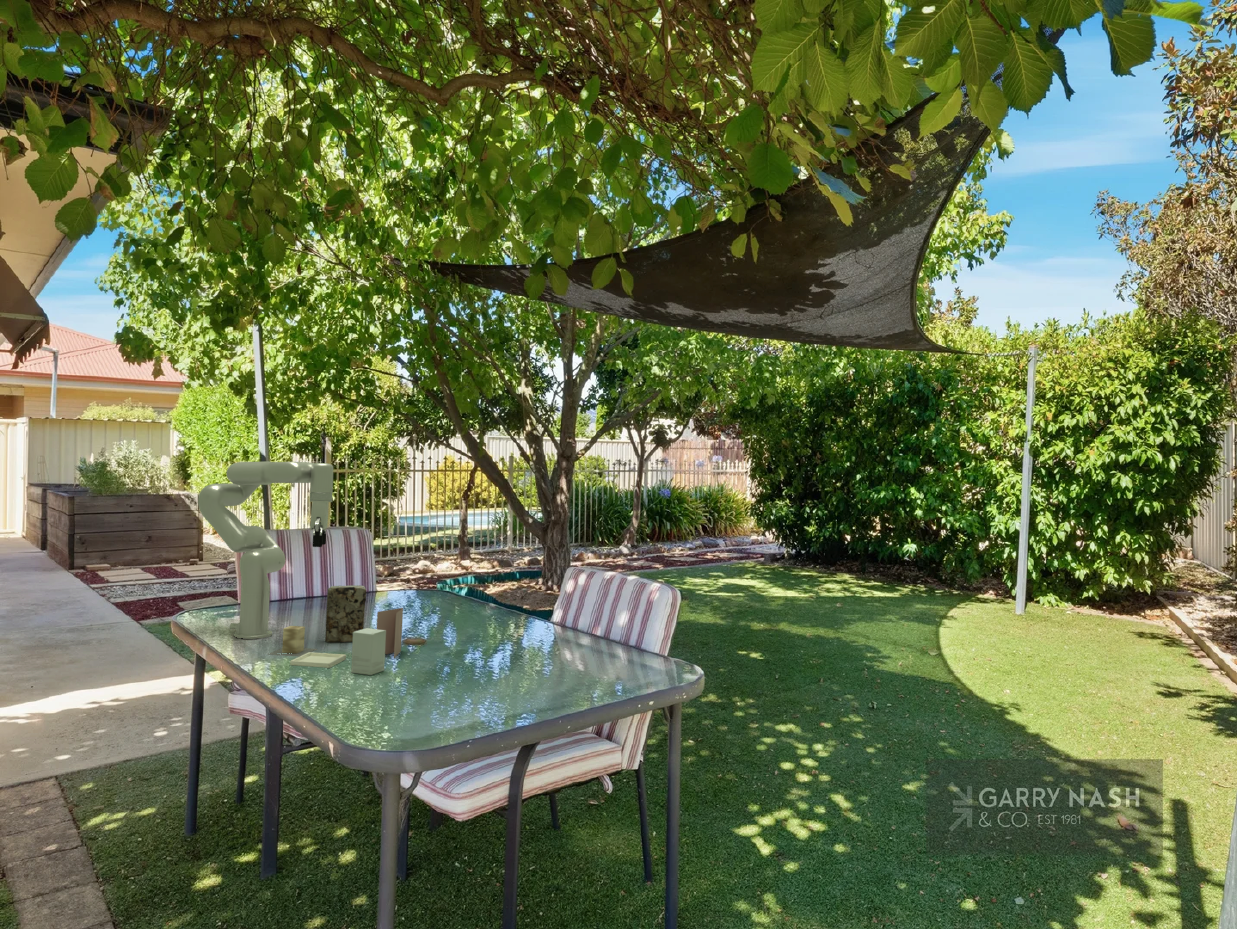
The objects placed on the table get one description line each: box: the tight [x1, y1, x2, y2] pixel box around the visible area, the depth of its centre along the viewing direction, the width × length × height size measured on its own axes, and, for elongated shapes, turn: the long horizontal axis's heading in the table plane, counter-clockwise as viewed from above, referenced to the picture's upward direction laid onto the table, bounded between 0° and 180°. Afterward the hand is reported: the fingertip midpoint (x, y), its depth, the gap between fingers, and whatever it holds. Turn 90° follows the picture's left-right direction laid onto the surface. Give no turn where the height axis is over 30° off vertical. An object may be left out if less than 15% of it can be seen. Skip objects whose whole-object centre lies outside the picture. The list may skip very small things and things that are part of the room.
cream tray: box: [289, 651, 347, 669], centre depth 253 cm, size 13×13×2 cm
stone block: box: [324, 584, 367, 644], centre depth 284 cm, size 13×7×20 cm, turn 118°
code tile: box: [266, 647, 318, 658], centre depth 265 cm, size 12×12×1 cm
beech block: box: [281, 625, 306, 654], centre depth 265 cm, size 5×5×8 cm
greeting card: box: [376, 607, 404, 659], centre depth 267 cm, size 11×7×15 cm, turn 149°
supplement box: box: [350, 627, 386, 676], centre depth 244 cm, size 7×7×13 cm
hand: (319, 545), depth 282 cm, fingers open, 9 cm apart
